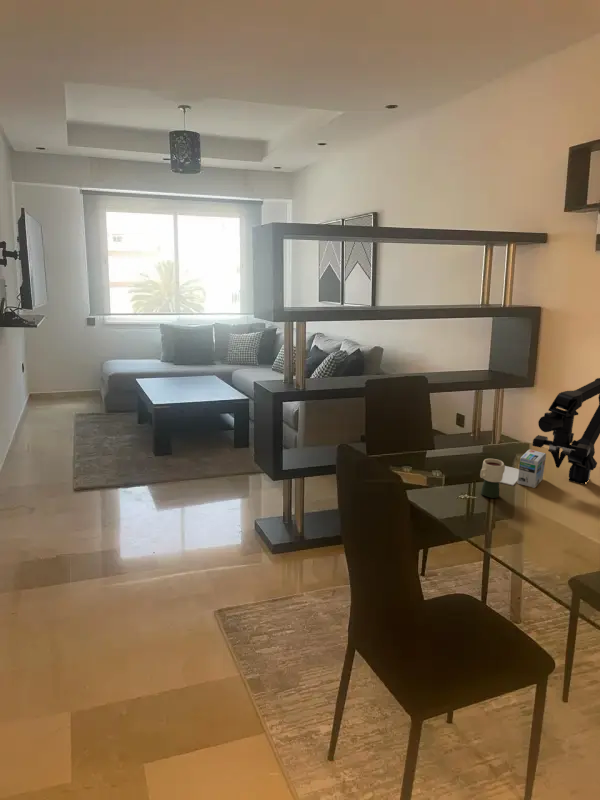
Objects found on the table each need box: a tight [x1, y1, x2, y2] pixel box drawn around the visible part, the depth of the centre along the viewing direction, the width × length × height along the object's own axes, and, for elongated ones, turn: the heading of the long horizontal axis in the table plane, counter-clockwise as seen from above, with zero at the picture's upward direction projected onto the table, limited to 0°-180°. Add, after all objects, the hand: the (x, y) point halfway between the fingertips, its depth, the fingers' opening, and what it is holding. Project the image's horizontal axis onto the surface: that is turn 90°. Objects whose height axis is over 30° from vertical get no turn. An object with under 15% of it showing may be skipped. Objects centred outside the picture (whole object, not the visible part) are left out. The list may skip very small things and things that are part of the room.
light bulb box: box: [516, 449, 547, 489], centre depth 226 cm, size 11×7×11 cm, turn 143°
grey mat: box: [499, 465, 519, 487], centre depth 233 cm, size 12×16×1 cm
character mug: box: [479, 458, 506, 499], centre depth 213 cm, size 11×7×13 cm, turn 116°
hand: (557, 467), depth 220 cm, fingers closed
